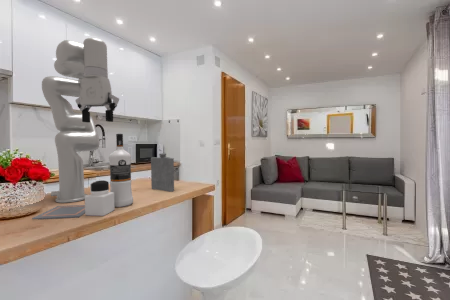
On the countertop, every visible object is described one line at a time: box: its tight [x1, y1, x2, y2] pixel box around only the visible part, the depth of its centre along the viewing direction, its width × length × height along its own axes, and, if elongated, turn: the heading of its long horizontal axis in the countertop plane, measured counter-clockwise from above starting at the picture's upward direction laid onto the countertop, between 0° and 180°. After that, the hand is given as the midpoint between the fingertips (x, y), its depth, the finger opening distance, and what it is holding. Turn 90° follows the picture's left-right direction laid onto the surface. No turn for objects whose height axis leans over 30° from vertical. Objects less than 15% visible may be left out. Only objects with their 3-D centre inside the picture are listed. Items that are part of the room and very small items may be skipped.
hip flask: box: [150, 152, 175, 193], centre depth 126 cm, size 16×4×20 cm, turn 59°
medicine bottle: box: [84, 180, 116, 217], centre depth 86 cm, size 7×7×12 cm
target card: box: [31, 204, 85, 220], centre depth 87 cm, size 15×15×1 cm
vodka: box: [108, 133, 134, 208], centre depth 97 cm, size 9×9×30 cm
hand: (97, 121), depth 85 cm, fingers open, 9 cm apart
